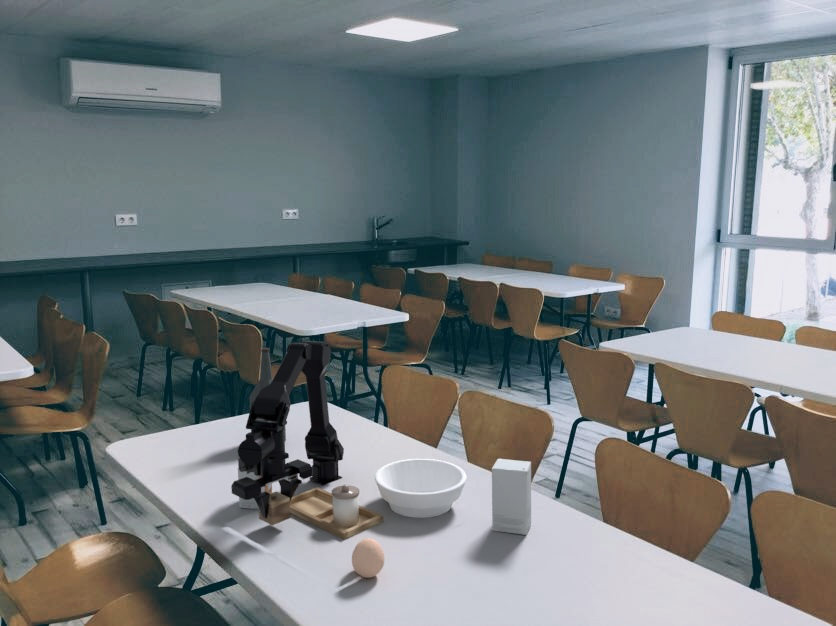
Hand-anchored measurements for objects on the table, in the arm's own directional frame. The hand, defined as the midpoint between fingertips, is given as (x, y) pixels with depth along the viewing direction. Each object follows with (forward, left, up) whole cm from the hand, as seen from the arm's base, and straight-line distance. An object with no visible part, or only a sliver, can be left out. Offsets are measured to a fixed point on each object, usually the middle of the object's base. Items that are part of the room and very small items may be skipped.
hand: (274, 513), depth 169 cm
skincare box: (-38, +39, -4) cm, 55 cm away
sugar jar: (-13, +10, -3) cm, 17 cm away
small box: (-6, -16, -4) cm, 18 cm away
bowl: (-32, +16, -4) cm, 36 cm away
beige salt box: (0, 0, -1) cm, 1 cm away
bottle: (-33, -48, -4) cm, 58 cm away
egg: (-1, +30, -4) cm, 30 cm away
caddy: (-13, +4, -4) cm, 14 cm away
